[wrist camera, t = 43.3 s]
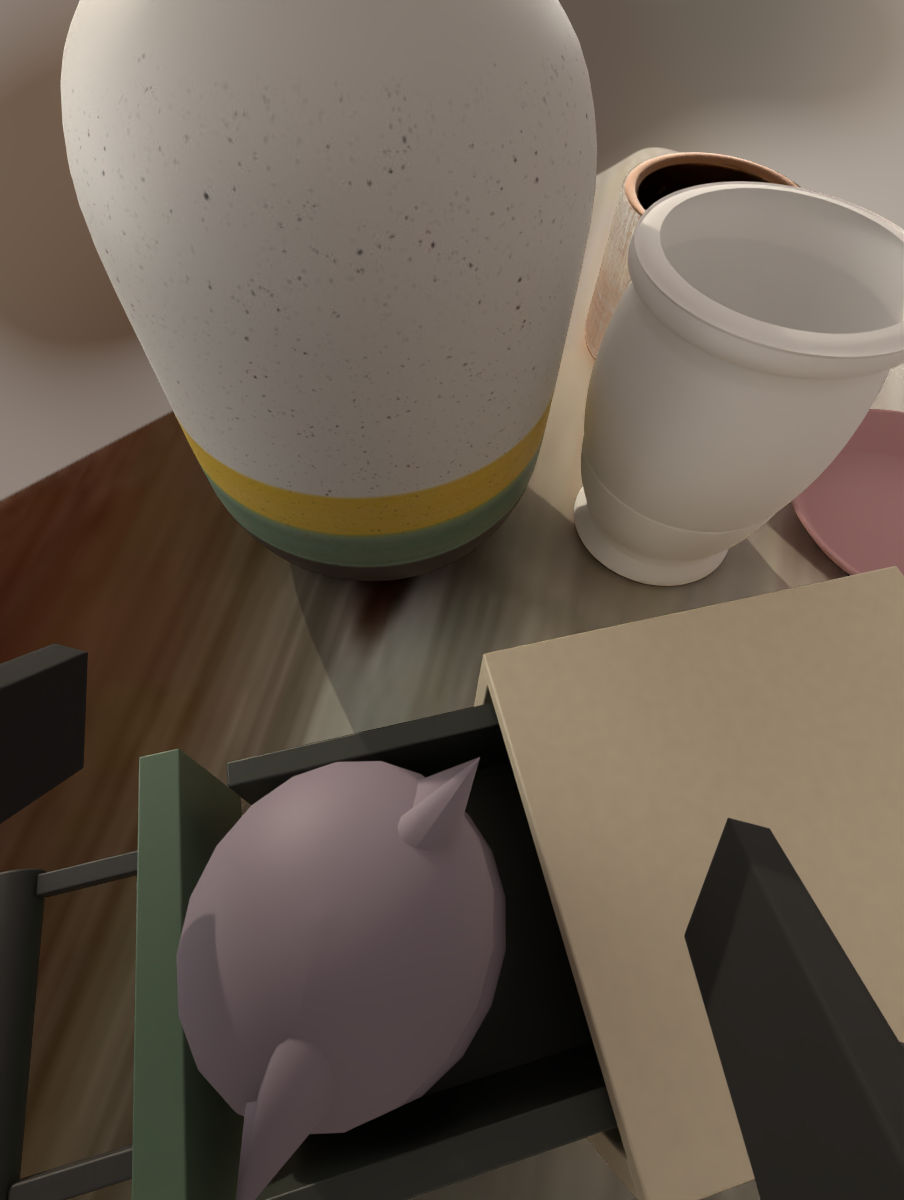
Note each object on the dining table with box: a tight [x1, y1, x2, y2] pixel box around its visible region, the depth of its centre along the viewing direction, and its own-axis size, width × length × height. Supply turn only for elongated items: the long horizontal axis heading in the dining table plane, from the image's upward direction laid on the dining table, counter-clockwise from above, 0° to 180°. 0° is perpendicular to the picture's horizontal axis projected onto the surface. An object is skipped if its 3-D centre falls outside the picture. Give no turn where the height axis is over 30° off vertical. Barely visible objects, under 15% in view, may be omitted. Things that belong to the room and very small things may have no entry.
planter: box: [585, 152, 801, 360], centre depth 37 cm, size 11×11×10 cm
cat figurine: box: [176, 757, 506, 1200], centre depth 16 cm, size 8×8×12 cm
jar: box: [574, 181, 904, 586], centre depth 26 cm, size 11×10×15 cm
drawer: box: [0, 702, 618, 1200], centre depth 19 cm, size 20×12×7 cm, turn 104°
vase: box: [61, 0, 597, 581], centre depth 23 cm, size 17×17×24 cm
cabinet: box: [474, 566, 904, 1200], centre depth 21 cm, size 16×14×9 cm
